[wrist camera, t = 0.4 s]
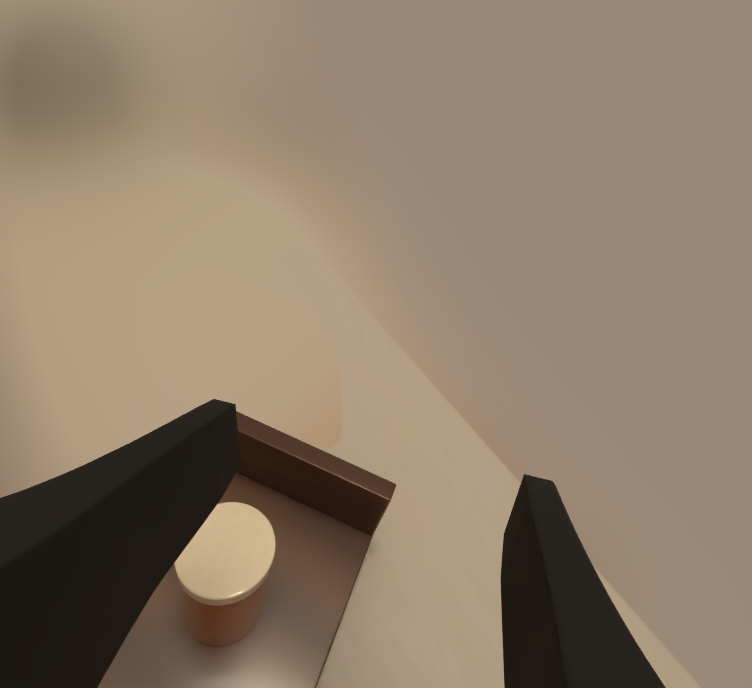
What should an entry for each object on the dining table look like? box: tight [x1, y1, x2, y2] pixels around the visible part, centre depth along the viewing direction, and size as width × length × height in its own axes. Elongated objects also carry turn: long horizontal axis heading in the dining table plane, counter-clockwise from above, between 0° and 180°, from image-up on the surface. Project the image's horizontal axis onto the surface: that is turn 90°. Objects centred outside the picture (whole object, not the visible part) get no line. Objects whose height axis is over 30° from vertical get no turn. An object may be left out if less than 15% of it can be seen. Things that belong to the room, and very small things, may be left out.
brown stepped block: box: [98, 411, 396, 688], centre depth 24 cm, size 14×12×7 cm
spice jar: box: [174, 502, 276, 647], centre depth 21 cm, size 4×4×7 cm
